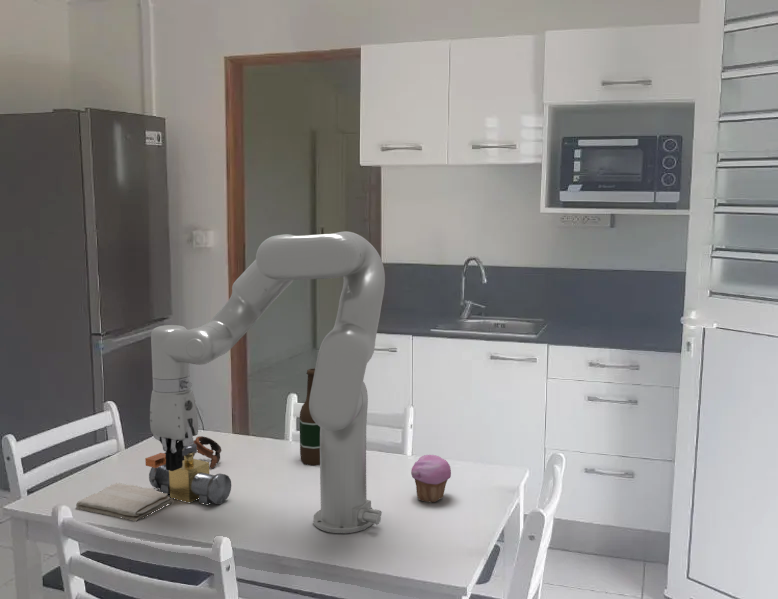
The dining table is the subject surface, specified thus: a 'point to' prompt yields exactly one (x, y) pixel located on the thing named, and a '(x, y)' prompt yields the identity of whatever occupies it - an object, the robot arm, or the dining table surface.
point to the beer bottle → (309, 430)
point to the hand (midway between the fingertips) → (174, 468)
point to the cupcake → (430, 477)
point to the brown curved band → (207, 452)
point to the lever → (161, 457)
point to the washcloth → (125, 501)
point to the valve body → (191, 482)
